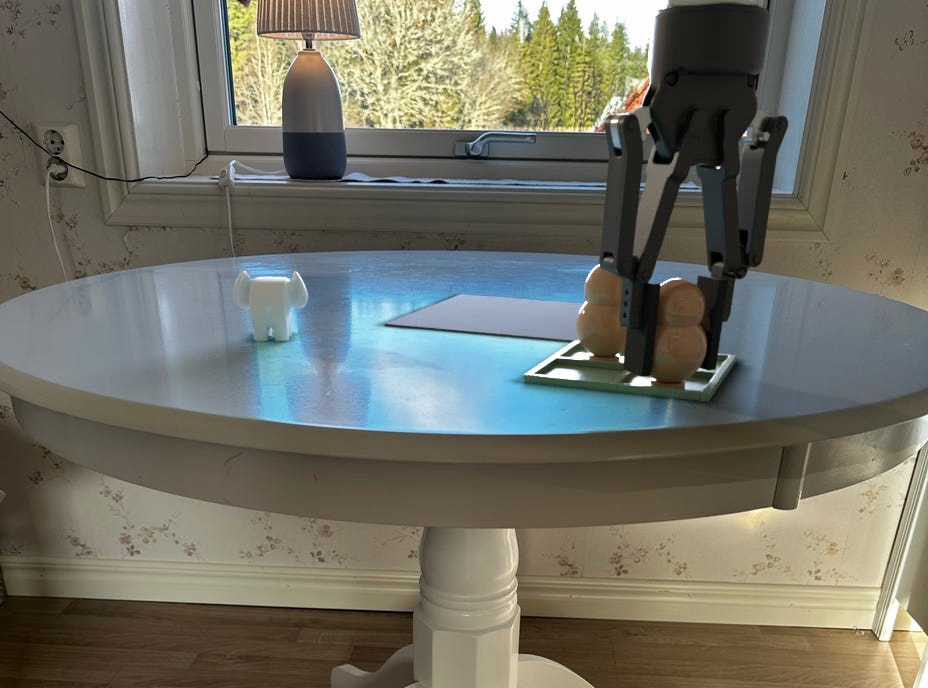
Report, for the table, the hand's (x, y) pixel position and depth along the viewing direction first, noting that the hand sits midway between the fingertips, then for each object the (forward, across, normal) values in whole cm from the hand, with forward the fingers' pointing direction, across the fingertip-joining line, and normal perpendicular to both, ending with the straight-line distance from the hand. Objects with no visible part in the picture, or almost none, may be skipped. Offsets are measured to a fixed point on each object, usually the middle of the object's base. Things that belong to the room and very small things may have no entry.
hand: (669, 368), depth 73 cm
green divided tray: (+2, 0, -5) cm, 5 cm away
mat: (+2, -1, -30) cm, 30 cm away
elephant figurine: (+2, +24, -29) cm, 38 cm away
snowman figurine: (+1, 0, -10) cm, 10 cm away
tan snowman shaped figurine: (+1, 0, 0) cm, 1 cm away
